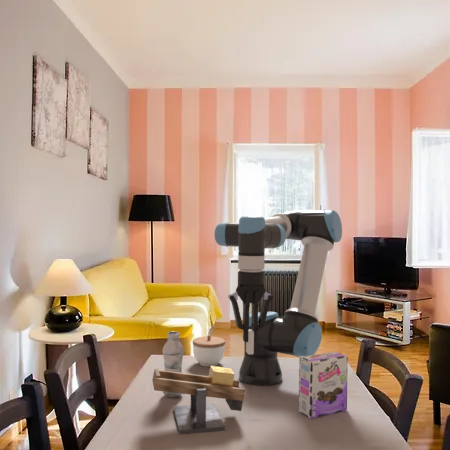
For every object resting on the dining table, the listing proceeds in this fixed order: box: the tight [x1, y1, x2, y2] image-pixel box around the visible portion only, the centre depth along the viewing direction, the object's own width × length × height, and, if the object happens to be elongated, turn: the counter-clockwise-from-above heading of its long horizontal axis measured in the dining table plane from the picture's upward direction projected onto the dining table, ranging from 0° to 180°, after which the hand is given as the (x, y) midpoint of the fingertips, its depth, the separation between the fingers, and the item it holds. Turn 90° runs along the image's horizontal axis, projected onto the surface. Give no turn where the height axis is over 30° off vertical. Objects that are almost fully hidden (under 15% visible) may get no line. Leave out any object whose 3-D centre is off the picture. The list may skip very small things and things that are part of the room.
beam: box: [151, 368, 247, 412], centre depth 133 cm, size 25×9×7 cm, turn 102°
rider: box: [207, 365, 235, 387], centre depth 134 cm, size 6×5×5 cm
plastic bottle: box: [162, 331, 184, 398], centre depth 150 cm, size 6×7×20 cm
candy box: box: [298, 351, 349, 420], centre depth 140 cm, size 14×6×16 cm, turn 117°
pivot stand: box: [172, 388, 226, 435], centre depth 133 cm, size 12×16×10 cm
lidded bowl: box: [192, 334, 226, 367], centre depth 184 cm, size 13×13×11 cm
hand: (249, 352), depth 136 cm, fingers closed
